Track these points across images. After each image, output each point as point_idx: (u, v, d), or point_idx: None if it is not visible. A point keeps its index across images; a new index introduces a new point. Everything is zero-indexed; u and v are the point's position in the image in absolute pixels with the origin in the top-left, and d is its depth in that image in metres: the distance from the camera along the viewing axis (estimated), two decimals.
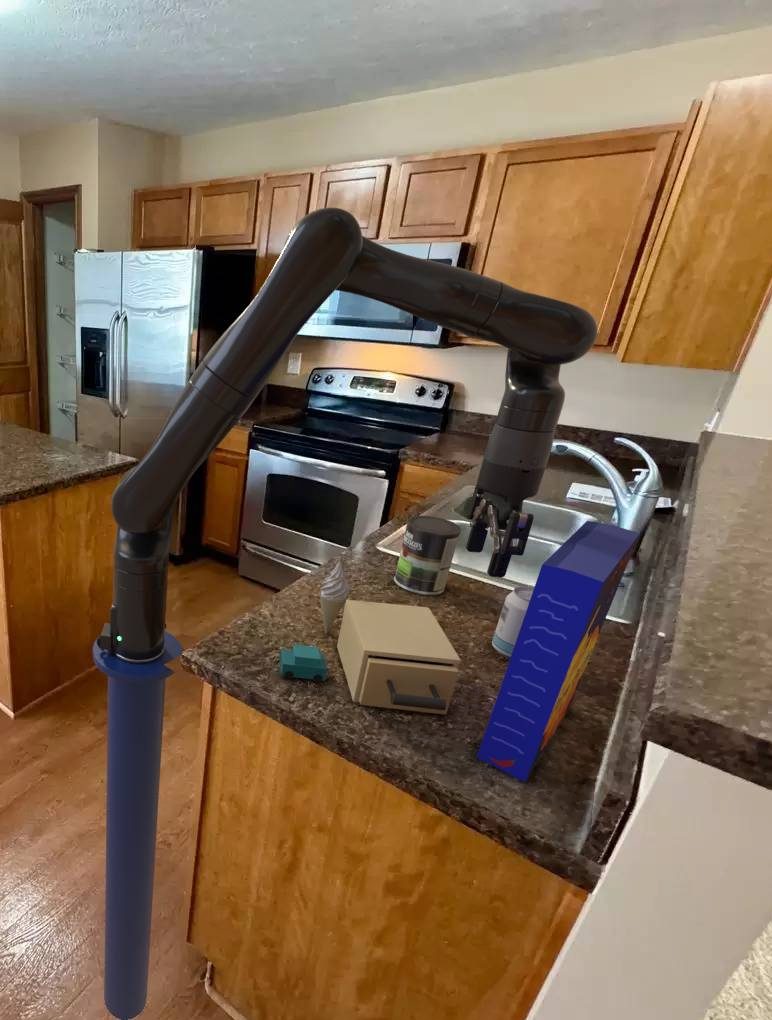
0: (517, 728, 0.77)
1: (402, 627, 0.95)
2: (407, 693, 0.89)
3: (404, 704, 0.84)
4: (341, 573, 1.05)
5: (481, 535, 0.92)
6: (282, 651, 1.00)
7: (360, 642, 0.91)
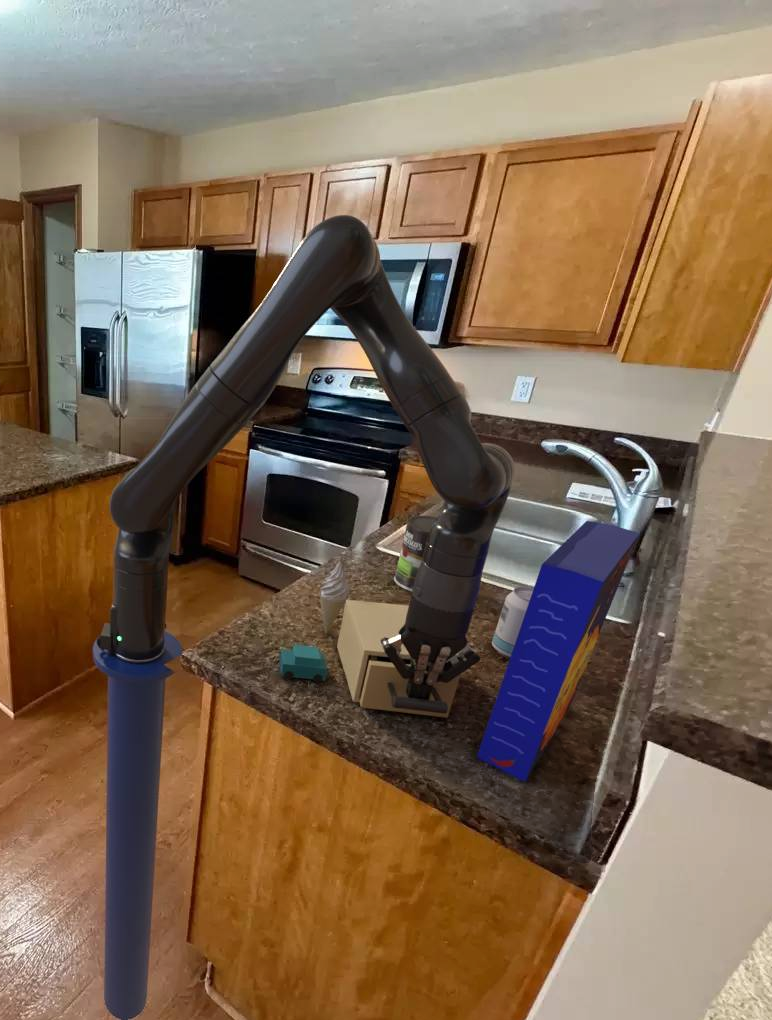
0: (517, 728, 0.77)
1: None
2: None
3: (406, 707, 0.83)
4: (341, 573, 1.05)
5: None
6: (282, 651, 1.00)
7: (360, 642, 0.91)
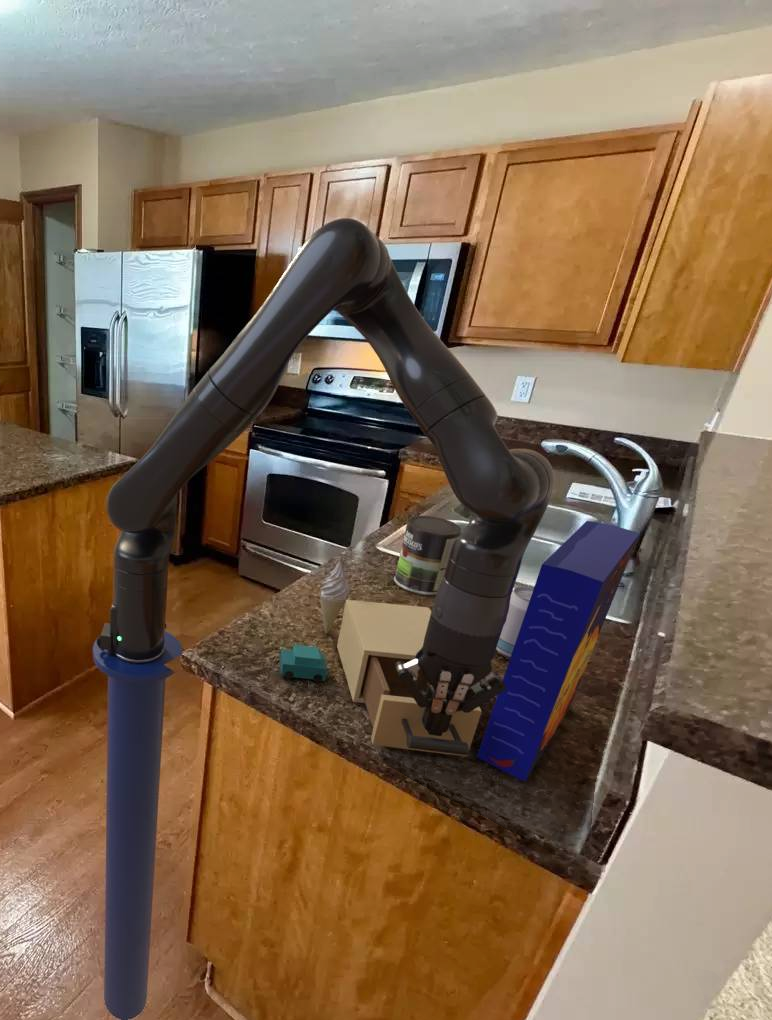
0: (517, 728, 0.77)
1: (402, 627, 0.95)
2: (424, 733, 0.81)
3: (422, 747, 0.76)
4: (341, 573, 1.05)
5: None
6: (282, 651, 1.00)
7: (360, 642, 0.91)
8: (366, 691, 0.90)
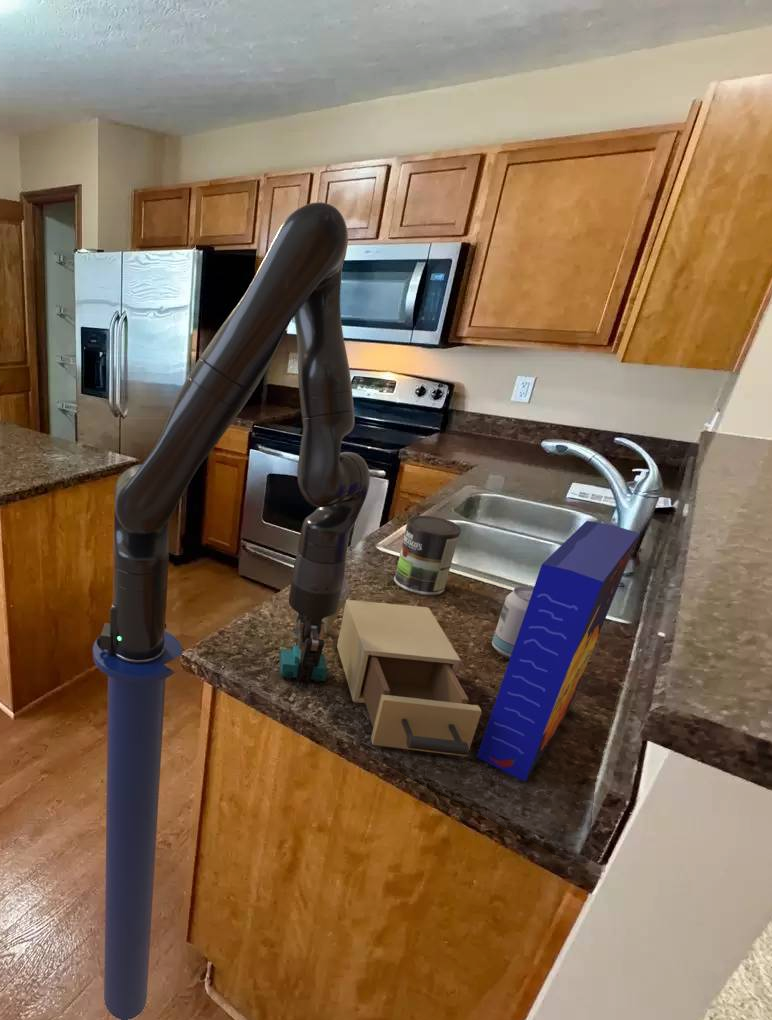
0: (517, 728, 0.77)
1: (402, 627, 0.95)
2: (424, 733, 0.81)
3: (422, 747, 0.76)
4: None
5: None
6: (282, 651, 1.00)
7: (360, 642, 0.91)
8: (366, 691, 0.90)
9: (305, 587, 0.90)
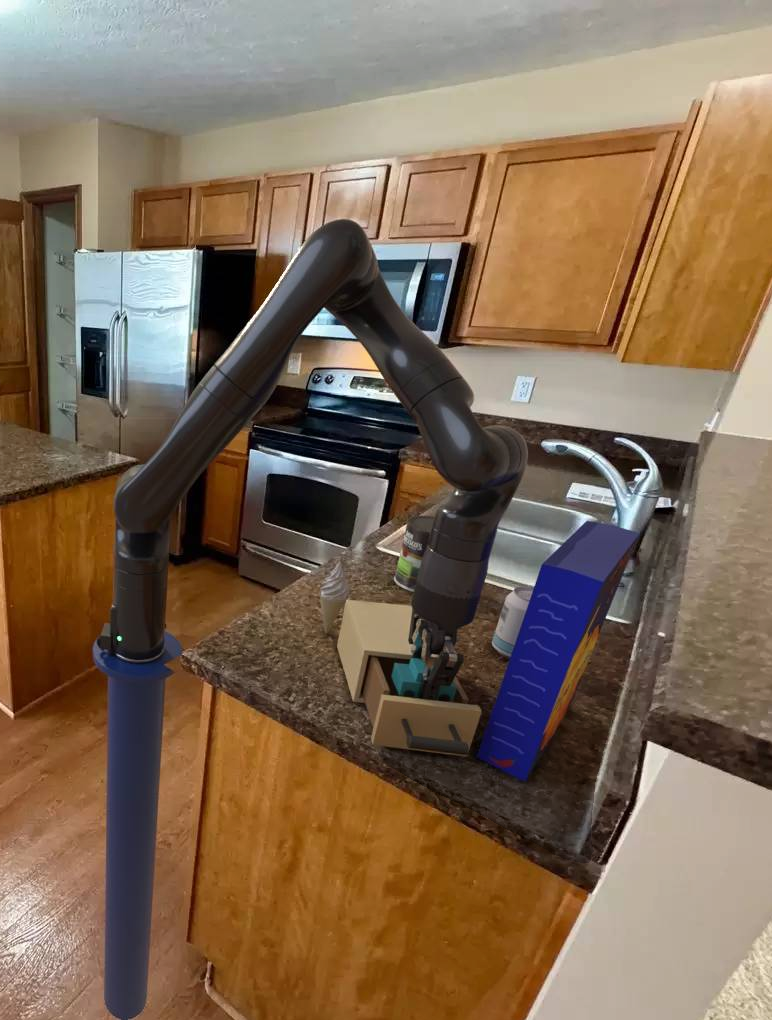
0: (517, 728, 0.77)
1: (402, 627, 0.95)
2: (424, 733, 0.81)
3: (422, 748, 0.76)
4: (341, 573, 1.05)
5: None
6: (397, 666, 0.84)
7: (360, 642, 0.91)
8: (366, 691, 0.90)
9: (440, 590, 0.74)
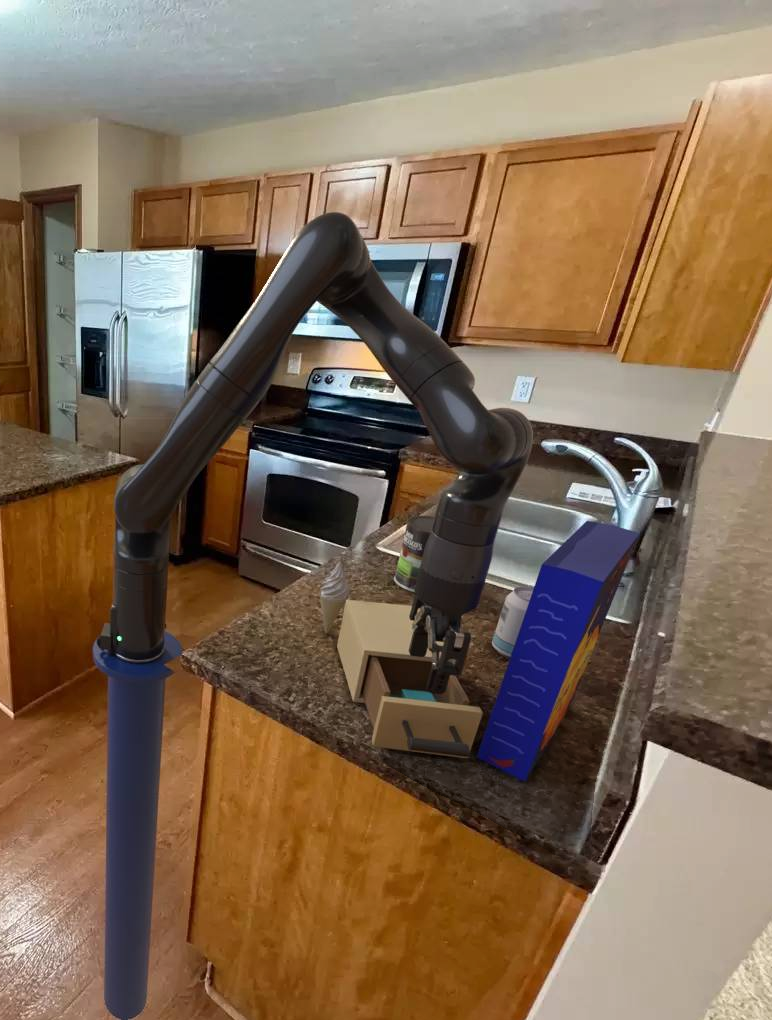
0: (517, 728, 0.77)
1: (402, 627, 0.95)
2: (425, 735, 0.81)
3: (423, 749, 0.76)
4: (341, 573, 1.05)
5: None
6: None
7: (360, 642, 0.91)
8: (366, 692, 0.90)
9: (444, 575, 0.73)
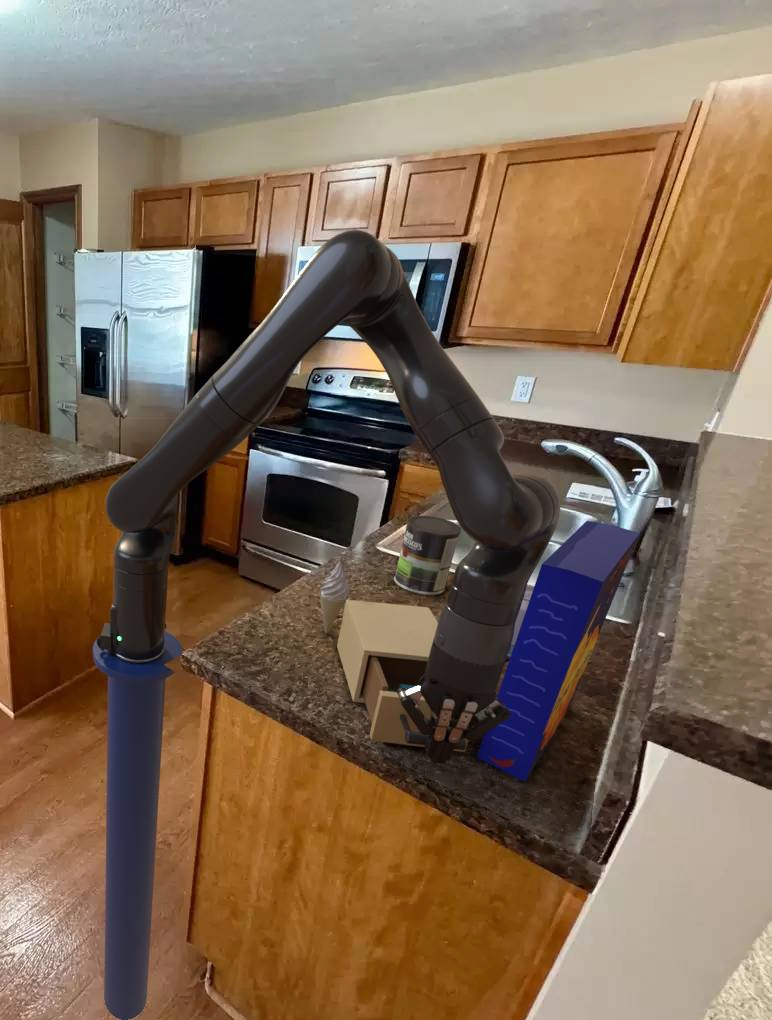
0: (517, 728, 0.77)
1: (402, 627, 0.95)
2: None
3: (420, 743, 0.77)
4: (341, 573, 1.05)
5: None
6: None
7: (360, 642, 0.91)
8: (365, 687, 0.91)
9: (506, 655, 0.67)
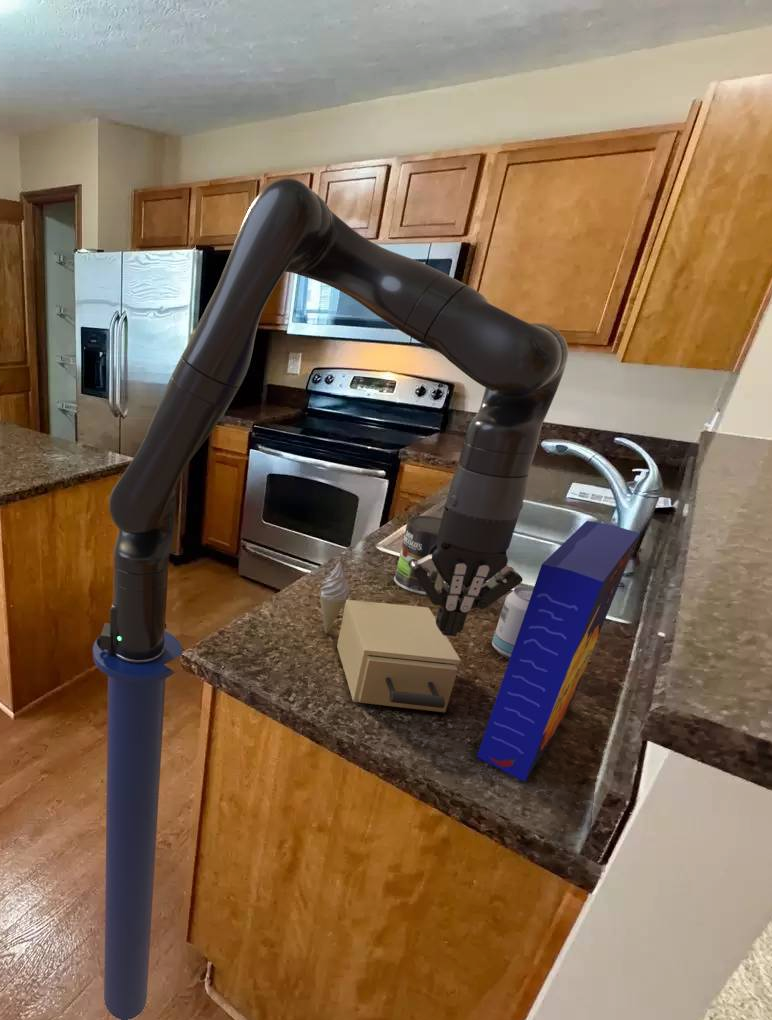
0: (517, 728, 0.77)
1: (402, 627, 0.95)
2: (406, 691, 0.89)
3: (403, 701, 0.84)
4: (341, 573, 1.05)
5: None
6: None
7: (360, 642, 0.91)
8: None
9: (519, 512, 0.67)
